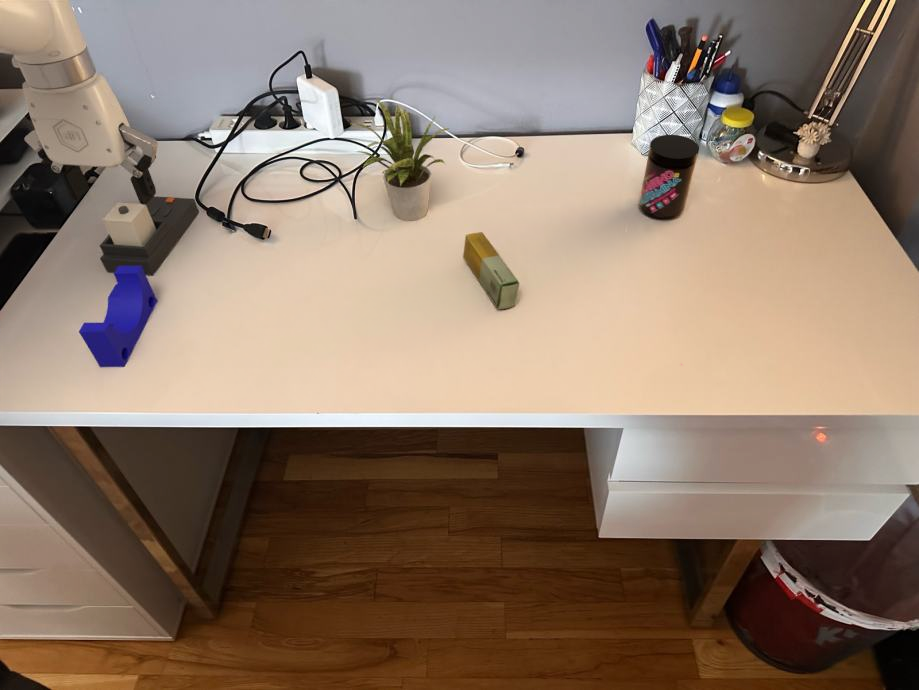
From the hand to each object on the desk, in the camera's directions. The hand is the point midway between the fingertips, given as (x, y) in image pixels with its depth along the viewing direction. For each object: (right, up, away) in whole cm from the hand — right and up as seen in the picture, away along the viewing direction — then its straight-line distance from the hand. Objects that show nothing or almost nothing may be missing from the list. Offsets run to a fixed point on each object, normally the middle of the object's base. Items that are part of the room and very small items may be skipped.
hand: (114, 196), depth 90 cm
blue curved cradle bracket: (+3, -18, -4) cm, 19 cm away
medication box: (+50, -11, +1) cm, 51 cm away
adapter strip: (+1, -4, +10) cm, 11 cm away
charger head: (0, -5, +6) cm, 8 cm away
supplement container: (+76, +1, +12) cm, 77 cm away
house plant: (+37, +1, +14) cm, 40 cm away
